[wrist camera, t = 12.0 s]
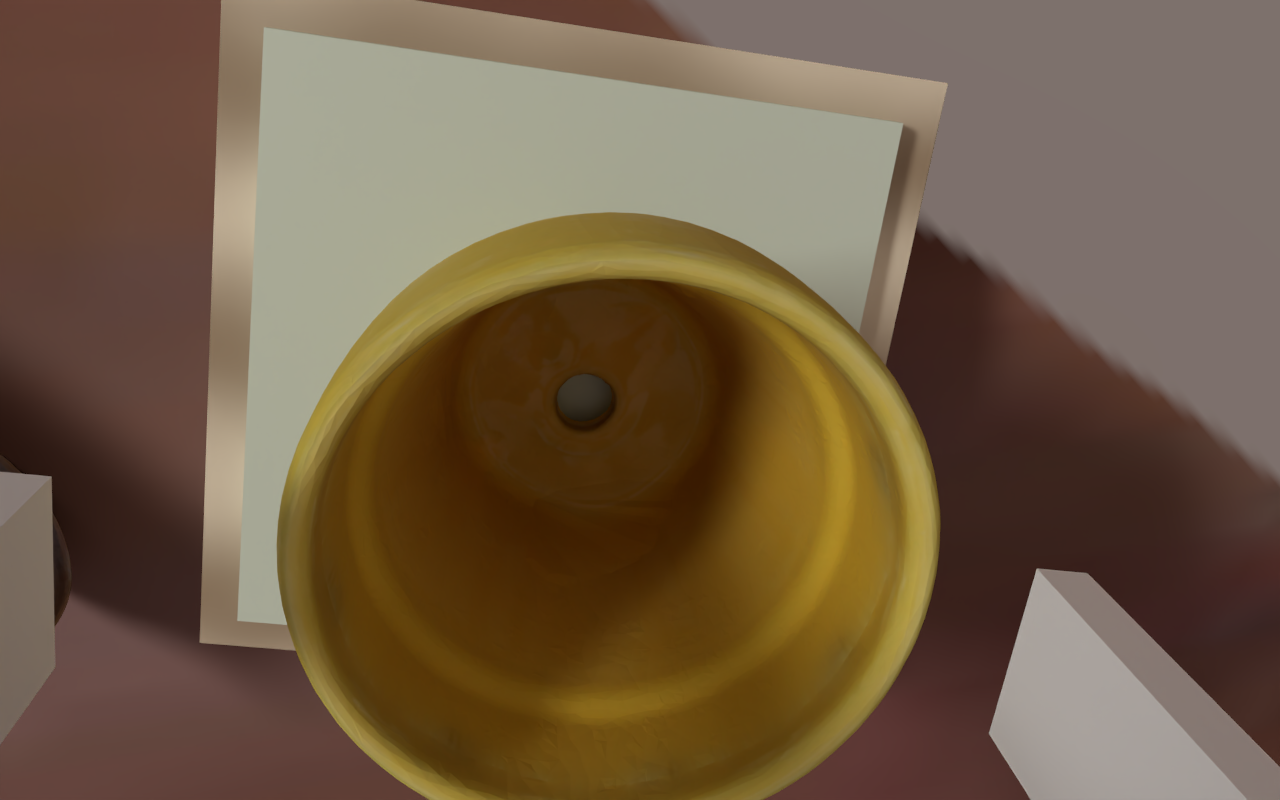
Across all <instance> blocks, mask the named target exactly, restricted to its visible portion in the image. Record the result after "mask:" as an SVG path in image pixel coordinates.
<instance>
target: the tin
mask: <svg viewBox="0 0 1280 800" xmlns="http://www.w3.org/2000/svg"><path fill="white" fill-rule="evenodd" d="M0 472H10V473H21V472H20V471H19V470H18V469H17V468H15V466H14V465H13V464H12V463H11V462H9V461H8V460H7V459H6V458H5V457H3V456H2V455H1V454H0ZM21 474H22V473H21ZM52 521H53V574H54V627H55V626H56V624H57V623H58V621H59V619H60V618H61V616H62V614H63V612H64V610H65V608H66V605H67V602H68V599H69V595H70V590H71V578H72V573H71V563H70V555H69V551H68V548H67V544H66V541H65V538H64V536H63V533H62V531H61V528H60V526H59V524H58V522H57V520H56V518H55V516H54V514H53V513H52Z"/></svg>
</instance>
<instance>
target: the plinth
mask: <svg viewBox="0 0 1280 800" xmlns="http://www.w3.org/2000/svg"><path fill="white" fill-rule="evenodd" d="M947 85H948V83H943V82H936V81H930V80H924V79H917V78H911V77H904V76H898V75H892V74H885V73H879V72H872V71H865V70H859V69H853V68H847V67H840V66H834V65H827V64H820V63H815V62H808V61H802V60H795V59H788V58H782V57H775V56H770V55H763V54H756V53H750V52H744V51H737V50H731V49H724V48H718V47H712V46H705V45H699V44H693V43H686V42H680V41H673V40H667V39H660V38H654V37H648V36H641V35H635V34H628V33H622V32H615V31H609V30H603V29H596V28H590V27H583V26H577V25H571V24H564V23H558V22H551V21H545V20H538V19H532V18H526V17H519V16H513V15H506V14H500V13H493V12H487V11H481V10H474V9H468V8H461V7H455V6H449V5H442V4H436V3H429V2H423V1H416V0H221V25H220V55H219V85H218V114H217V144H216V174H215V203H214V233H213V263H212V293H211V322H210V352H209V382H208V411H207V441H206V471H205V500H204V530H203V560H202V590H201V619H200V643H208V644H221V645H233V646H245V647H258V648H270V649H283V650H295V647H294V644H293V641H292V638H291V635H290V632H289V629H288V626H287V622H286V618H285V614H284V611H283V607H282V601H281V595H280V589H279V582H278V574H277V545H276V544H277V529H278V518H279V511H280V505H281V498H282V494H283V490H284V486H285V482H286V478H287V474H288V470H289V467H290V465H291V462H292V459H293V456H294V454H295V451H296V448H297V445H298V443H299V441H300V438H301V436H302V434H303V432H304V430H305V428H306V426H307V424H308V421H309V419H310V417H311V415H312V413H313V411H314V409H315V408H316V406H317V404H318V402H319V400H320V398H321V396H322V394H323V392H324V390H325V389H326V387H327V385H328V384H329V382H330V380H331V379H332V377H333V375H334V373H335V372H336V370H337V369H338V367H339V366H340V364H341V363H342V361H343V360H344V358H345V357H346V355H347V354H348V352H349V351H350V349H351V348H352V346H353V345H354V344H355V343H356V341H357V340H358V339H359V338H360V336H361V335H362V334H363V333H364V331H365V330H366V329H367V328H368V326H369V325H370V324H371V323H372V321H373V320H374V319H375V318H376V317H377V316H378V315H379V314H380V313H381V312H382V310H383V309H384V308H385V307H386V306H387V305H388V304H389V303H390V302H391V301H392V300H393V299H394V298H395V297H396V296H397V295H398V294H399V293H400V292H402V291H403V290H404V289H405V288H406V287H407V286H408V285H409V284H410V283H412V282H413V281H414V280H416V279H417V278H418V277H420V276H421V275H422V274H424V273H425V272H426V271H428V270H429V269H430V268H432V267H433V266H435V265H436V264H438V263H440V262H441V261H443V260H444V259H446V258H448V257H449V256H451V255H453V254H454V253H456V252H458V251H460V250H462V249H464V248H466V247H468V246H470V245H471V244H473V243H475V242H478V241H480V240H483V239H485V238H487V237H490V236H492V235H494V234H497V233H499V232H502V231H505V230H508V229H511V228H514V227H518V226H521V225H524V224H527V223H531V222H535V221H539V220H543V219H548V218H553V217H559V216H566V215H575V214H586V213H604V212H618V213H638V214H648V215H655V216H661V217H666V218H671V219H675V220H680V221H684V222H689V223H692V224H695V225H698V226H701V227H704V228H707V229H711V230H713V231H716V232H718V233H721V234H723V235H725V236H728V237H730V238H733V239H735V240H738V241H739V242H741V243H743V244H745V245H747V246H749V247H751V248H753V249H755V250H756V251H758V252H760V253H761V254H763V255H764V256H766V257H768V258H769V259H771V260H772V261H774V262H775V263H777V264H779V265H780V266H782V267H783V268H785V269H786V270H787V271H789V272H790V273H792V274H793V275H794V276H796V277H797V278H798V279H800V280H801V281H802V282H803V283H804V284H806V285H807V286H808V287H809V288H811V289H812V290H813V291H814V292H815V293H817V294H818V295H819V296H820V297H821V298H823V299H824V300H825V301H826V302H827V303H828V304H830V305H831V306H832V307H833V308H834V309H835V310H836V311H837V312H838V313H839V314H840V315H841V316H842V317H843V318H844V319H845V320H846V321H847V322H848V323H849V324H850V325H851V326H852V327H853V328H854V329H855V330H856V331H857V332H858V333H859V334H860V335H861V336H862V337H863V339H864V340H865V341H866V342H867V343H868V344H869V345H870V347H871V348H872V349H873V350H874V351H875V352H876V354H877V355H878V356H879V357H880V359H881V360H882V362H883V363H884V364H885V366H886V362H887V357H888V353H889V348H890V344H891V339H892V334H893V330H894V325H895V321H896V316H897V312H898V307H899V303H900V298H901V294H902V289H903V285H904V280H905V276H906V271H907V266H908V262H909V257H910V253H911V248H912V244H913V239H914V235H915V230H916V226H917V221H918V217H919V212H920V207H921V203H922V198H923V194H924V189H925V185H926V180H927V175H928V171H929V167H930V162H931V158H932V153H933V149H934V144H935V139H936V135H937V130H938V126H939V121H940V117H941V112H942V107H943V103H944V99H945V94H946V90H947ZM611 400H612V392H611V388H610V386H609V385H608V384H606V383H605V382H604V381H603V380H602V379H601V378H599V377H596V376H593V375H588V374H582V375H577V376H574V377H572V378H570V379H568V380H567V381H566V382H565V383H564V384H563V385H562V386H561V388H560V389H559V392H558V396H557V402H558V406H559V408H560V410H561V411H562V412H563V413H564V414H565V415H566V416H567V417H568V418H570V419H572V420H575V421H589V420H592V419H595V418H597V417H599V416H601V415H602V414H603V413H605V412H606V411H607V409H608V408H609V406H610V403H611ZM295 651H296V650H295Z"/></svg>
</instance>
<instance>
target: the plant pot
mask: <svg viewBox="0 0 1280 800" xmlns="http://www.w3.org/2000/svg"><path fill="white" fill-rule="evenodd" d="M582 374H588V375H593V376H596V377H599V378H601V379H602V380H603V381H604V382H605V383H606V384H608V385H609V386H610V388H611V392H612V400H611V403H610V406H609V408H608V409H607V411H606V412H605V413H603V414H602V415H601V416H599V417H597V418H595V419H592V420H589V421H575V420H572V419H570V418H568V417H567V416H566V415H565V414H564V413H563V412H562V411H561V410H560V408H559V406H558V402H557V396H558V392H559V389H560V388H561V386H562V385H563V384H564V383H565V382H566V381H567V380H568V379H570V378H572V377H574V376H577V375H582ZM276 545H277V574H278V582H279V589H280V595H281V601H282V607H283V611H284V614H285V618H286V622H287V626H288V629H289V632H290V635H291V638H292V641H293V644H294V647H295V650H296V652H297V655H298V657H299V660H300V662H301V664H302V666H303V668H304V670H305V672H306V674H307V676H308V678H309V680H310V682H311V684H312V686H313V688H314V690H315V692H316V693H317V694H318V696H319V697H320V699H321V700H322V702H323V703H324V705H325V706H326V708H327V709H328V710H329V712H330V713H331V715H332V716H333V717H334V719H335V720H336V722H337V723H338V724H339V725H340V727H341V728H342V729H343V730H344V731H345V732H346V733H347V734H348V736H349V737H350V738H351V739H352V740H353V741H354V742H355V743H356V745H357V746H359V747H360V748H361V749H362V750H363V751H364V752H365V753H366V754H367V755H368V756H370V757H371V758H372V759H373V760H374V761H375V762H376V763H378V764H379V765H380V766H381V767H382V768H383V769H384V770H386V771H387V772H388V773H390V774H391V775H392V776H394V777H395V778H396V779H398V780H399V781H400V782H402V783H403V784H405V785H406V786H408V787H410V788H411V789H413V790H414V791H416V792H417V793H419V794H421V795H422V796H424V797H426V798H428V799H429V800H763V799H765V798H767V797H769V796H771V795H773V794H775V793H777V792H779V791H781V790H782V789H784V788H786V787H787V786H789V785H790V784H792V783H794V782H795V781H797V780H798V779H800V778H801V777H803V776H804V775H806V774H807V773H809V772H810V771H811V770H813V769H814V768H815V767H817V766H818V765H819V764H820V763H822V762H823V761H824V760H825V759H826V758H827V757H829V756H830V755H831V754H832V753H833V752H834V751H836V750H837V749H838V748H839V747H840V746H841V745H842V744H843V743H844V742H845V741H846V740H847V739H848V738H849V737H850V736H851V735H852V734H853V733H854V732H855V731H856V730H857V729H858V728H859V727H860V726H861V725H862V724H863V722H864V721H865V720H866V719H867V718H868V717H869V716H870V714H871V713H872V712H873V711H874V710H875V708H876V707H877V706H878V705H879V703H880V702H881V701H882V699H883V698H884V696H885V695H886V694H887V692H888V691H889V689H890V688H891V686H892V684H893V683H894V681H895V680H896V678H897V676H898V675H899V673H900V671H901V669H902V667H903V665H904V664H905V662H906V660H907V658H908V656H909V654H910V652H911V650H912V648H913V646H914V644H915V642H916V640H917V638H918V635H919V632H920V630H921V627H922V624H923V622H924V619H925V616H926V613H927V609H928V606H929V603H930V600H931V596H932V592H933V587H934V582H935V578H936V573H937V565H938V556H939V546H940V507H939V499H938V491H937V484H936V478H935V473H934V468H933V464H932V460H931V457H930V453H929V450H928V447H927V443H926V440H925V437H924V435H923V433H922V430H921V428H920V426H919V423H918V421H917V419H916V416H915V414H914V412H913V410H912V408H911V406H910V404H909V402H908V400H907V398H906V397H905V395H904V393H903V391H902V389H901V388H900V386H899V384H898V383H897V381H896V379H895V378H894V376H893V375H892V374H891V372H890V371H889V370H888V368H887V367H886V366H885V364H884V363H883V362H882V360H881V359H880V357H879V356H878V355H877V354H876V352H875V351H874V350H873V349H872V348H871V347H870V345H869V344H868V343H867V342H866V341H865V340H864V339H863V337H862V336H861V335H860V334H859V333H858V332H857V331H856V330H855V329H854V328H853V327H852V326H851V325H850V324H849V323H848V322H847V321H846V320H845V319H844V318H843V317H842V316H841V315H840V314H839V313H838V312H837V311H836V310H835V309H834V308H833V307H832V306H831V305H830V304H828V303H827V302H826V301H825V300H824V299H823V298H821V297H820V296H819V295H818V294H817V293H815V292H814V291H813V290H812V289H811V288H809V287H808V286H807V285H806V284H804V283H803V282H802V281H801V280H800V279H798V278H797V277H796V276H794V275H793V274H792V273H790V272H789V271H787V270H786V269H785V268H783V267H782V266H780V265H779V264H777V263H775V262H774V261H772V260H771V259H769V258H768V257H766V256H764V255H763V254H761V253H760V252H758V251H756V250H755V249H753V248H751V247H749V246H747V245H745V244H743V243H741V242H739V241H738V240H735V239H733V238H730V237H728V236H725V235H723V234H721V233H718V232H716V231H713V230H711V229H707V228H704V227H701V226H698V225H695V224H692V223H689V222H684V221H680V220H675V219H671V218H666V217H661V216H655V215H648V214H638V213H618V212H604V213H586V214H575V215H566V216H559V217H553V218H548V219H543V220H539V221H535V222H531V223H527V224H524V225H521V226H518V227H514V228H511V229H508V230H505V231H502V232H499V233H497V234H494V235H492V236H490V237H487V238H485V239H483V240H480V241H478V242H475V243H473V244H471V245H470V246H468V247H466V248H464V249H462V250H460V251H458V252H456V253H454V254H453V255H451V256H449V257H448V258H446V259H444V260H443V261H441V262H440V263H438V264H436V265H435V266H433V267H432V268H430V269H429V270H428V271H426V272H425V273H424V274H422V275H421V276H420V277H418V278H417V279H416V280H414V281H413V282H412V283H410V284H409V285H408V286H407V287H406V288H405V289H404V290H403V291H402V292H400V293H399V294H398V295H397V296H396V297H395V298H394V299H393V300H392V301H391V302H390V303H389V304H388V305H387V306H386V307H385V308H384V309H383V310H382V312H381V313H380V314H379V315H378V316H377V317H376V318H375V319H374V320H373V321H372V323H371V324H370V325H369V326H368V328H367V329H366V330H365V331H364V333H363V334H362V335H361V336H360V338H359V339H358V340H357V341H356V343H355V344H354V345H353V346H352V348H351V349H350V351H349V352H348V354H347V355H346V357H345V358H344V360H343V361H342V363H341V364H340V366H339V367H338V369H337V370H336V372H335V373H334V375H333V377H332V379H331V380H330V382H329V384H328V385H327V387H326V389H325V390H324V392H323V394H322V396H321V398H320V400H319V402H318V404H317V406H316V408H315V409H314V411H313V413H312V415H311V417H310V419H309V421H308V424H307V426H306V428H305V430H304V432H303V434H302V436H301V438H300V441H299V443H298V445H297V448H296V451H295V454H294V456H293V459H292V462H291V465H290V467H289V470H288V474H287V478H286V482H285V486H284V490H283V494H282V498H281V505H280V511H279V518H278V529H277V544H276Z"/></svg>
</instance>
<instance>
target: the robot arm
mask: <svg viewBox="0 0 1280 800" xmlns="http://www.w3.org/2000/svg"><path fill="white" fill-rule="evenodd" d="M54 668H55V627H54V574H53V521H52V476H42V475H31V474H21V473H10V472H0V744H1V743H2V742H3V740H4V739H5V737H6V736H7V735H8V733H9V732H10V730H11V729H12V728H13V726H14V725H15V723H16V722H17V721H18V719H19V718H20V716H21V715H22V713H23V712H24V711H25V709H26V708H27V706H28V705H29V704H30V702H31V701H32V699H33V698H34V697H35V695H36V694H37V692H38V691H39V690H40V688H41V687H42V685H43V684H44V683H45V681H46V680H47V678H48V677H49V675H50V674H51V673H52V671H53V670H54ZM989 735H990V736H991V738H992V739H993V741H994V743H995V744H996V746H997V747H998V749H999V750H1000V752H1001V754H1002V755H1003V757H1004V758H1005V760H1006V761H1007V763H1008V764H1009V766H1010V768H1011V769H1012V771H1013V772H1014V774H1015V775H1016V777H1017V779H1018V780H1019V782H1020V783H1021V785H1022V786H1023V788H1024V790H1025V791H1026V793H1027V794H1028V796H1029V797H1030V799H1031V800H1280V767H1279V766H1278V765H1277V764H1276V763H1275V762H1274V761H1273V760H1272V759H1271V758H1270V757H1269V756H1268V755H1267V754H1266V753H1265V752H1264V751H1263V750H1262V749H1261V748H1260V747H1259V746H1258V745H1257V744H1256V743H1255V742H1254V741H1253V740H1252V739H1251V738H1250V737H1249V736H1248V735H1247V734H1246V733H1245V732H1244V731H1243V730H1242V728H1241V727H1240V726H1239V725H1238V724H1237V723H1236V722H1235V721H1234V720H1233V719H1232V718H1231V717H1230V716H1229V715H1228V714H1227V713H1226V712H1225V711H1224V710H1223V709H1222V708H1221V707H1220V706H1219V705H1218V704H1217V703H1216V702H1215V701H1214V700H1213V699H1212V698H1211V697H1210V696H1209V695H1208V694H1207V693H1206V692H1205V691H1204V690H1203V689H1202V688H1201V687H1200V686H1199V685H1198V684H1197V683H1196V682H1195V681H1194V680H1193V679H1192V678H1191V677H1190V676H1189V675H1188V674H1187V673H1186V672H1185V671H1184V670H1183V669H1182V668H1181V667H1180V666H1179V665H1178V664H1177V663H1176V662H1175V661H1174V660H1173V659H1172V658H1171V657H1170V656H1169V655H1168V654H1167V653H1166V652H1165V651H1164V650H1163V649H1162V648H1161V647H1160V646H1159V645H1158V644H1157V643H1156V642H1155V641H1154V640H1153V639H1152V638H1151V637H1150V636H1149V635H1148V634H1147V633H1146V632H1145V631H1144V630H1143V629H1142V628H1141V627H1140V626H1139V625H1138V624H1137V623H1136V622H1135V621H1134V620H1133V619H1132V618H1131V617H1130V616H1129V615H1128V614H1127V613H1126V612H1125V611H1124V610H1123V609H1122V608H1121V607H1120V606H1119V605H1118V604H1117V602H1116V601H1115V600H1114V599H1113V598H1112V597H1111V596H1110V595H1109V594H1108V593H1107V592H1106V591H1105V590H1104V589H1103V588H1102V587H1101V586H1100V585H1099V584H1098V583H1097V582H1096V581H1095V580H1094V579H1093V578H1092V577H1091V576H1090V575H1089V574H1088V573H1080V572H1070V571H1059V570H1048V569H1038V568H1037V570H1036V573H1035V577H1034V580H1033V584H1032V587H1031V590H1030V594H1029V597H1028V601H1027V604H1026V608H1025V611H1024V615H1023V618H1022V621H1021V625H1020V628H1019V632H1018V635H1017V639H1016V642H1015V646H1014V649H1013V652H1012V656H1011V659H1010V663H1009V666H1008V670H1007V673H1006V677H1005V680H1004V683H1003V687H1002V690H1001V694H1000V697H999V701H998V704H997V708H996V711H995V714H994V718H993V721H992V725H991V728H990V732H989Z"/></svg>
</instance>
